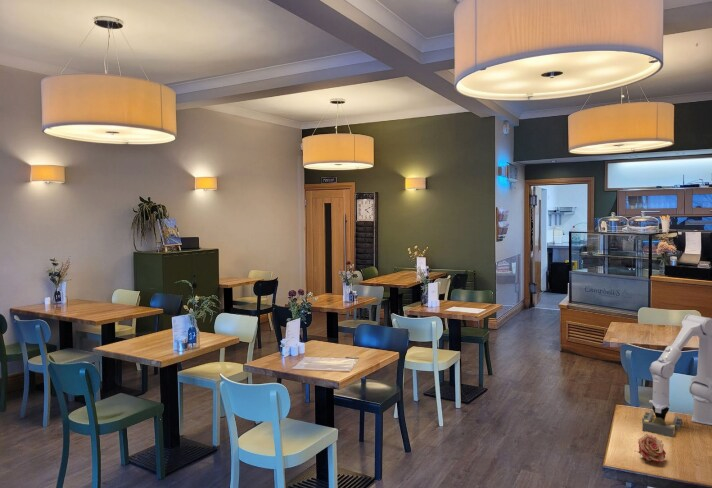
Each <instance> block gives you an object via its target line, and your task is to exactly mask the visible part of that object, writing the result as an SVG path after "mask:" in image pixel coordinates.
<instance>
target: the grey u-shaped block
mask: <svg viewBox="0 0 712 488" xmlns="http://www.w3.org/2000/svg"><path fill="white" fill-rule="evenodd" d="M654 415H655V413H654V411H653V410H650V412H649V411H648V412H647V411H645V414H644V415H643V417H641V419H642V420H641V423H642V428H641V429H642V432H646V433H650V434H651V433H652V434H657V435H661V436H666V437H671V438H674V435H675V430H677V431H680V430H681V427H682V424H683V419H682V418H681V417H679V415H675V416H674V419H673V421H672V424H670V425H667V424H666V425H662V424H657V423H652V421H653V419H654V418H653V417H654Z"/></svg>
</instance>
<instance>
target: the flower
mask: <svg viewBox="0 0 712 488" xmlns="http://www.w3.org/2000/svg"><path fill="white" fill-rule="evenodd" d="M637 443H638V451H637V450H635V452H637V453H639V454H640V456H642V457H643V459H644V460H645V463H647V462H648V461H650V462H652V461H656V462H657V463H658V464H660V463H661V462H664V459H666V454H667V452H666V451H665V449H664V443H663V441H662V440H660V439H658V438H657V437H656V436H653V435H652V434H650V435H649V434H648V433H645V434H644V436H643V435H642V436H641V437H640V438H639V439H638V442H637Z"/></svg>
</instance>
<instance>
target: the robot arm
mask: <svg viewBox="0 0 712 488" xmlns="http://www.w3.org/2000/svg"><path fill="white" fill-rule="evenodd" d="M692 337H698V338H699V339H698V351H697V352H698V353H697V366H696V367H697V370H696V375H695V376H693V377H691V379H690V381H691V382H690V383H689V386H688V390H689V394H690V395H691V397H692V398H693V411H692V412H693V415H692V416H691V422H693V423H698V424H703V425H708V426H712V317H706V316H701V315H695V314H692V313H688V314H686V315H685V316H684V318H683V320H682V321H681V329H680V331H679V333H678V334H677V335H676V337H675V339H674V341H673V343H672V345H667V346H666V347H665V349H664V350H663V352H662V354H661V355H660V356H659V358H657V360H655V361H653V362H651V363H650V366H649V372H650V374H651V379H652V399H649V400H648V403H649V404H652V406H651V407H652V411H654V415H655V418H657V417H660V418H662V419H663V420H664V421H665V422H666V416H667V414H668V412H669V410H670V408H669V407H670V381H671V380H670V378H672V376H673V375H674V371H675V367H676V366H675V365H676V364H677V362H678V360H680V358H681V357H682V349H683V348H684V347H685V346H686V345H687V343H688V342H689V341H690V339H692Z"/></svg>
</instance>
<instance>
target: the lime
mask: <svg viewBox="0 0 712 488" xmlns="http://www.w3.org/2000/svg"><path fill="white" fill-rule="evenodd" d="M651 422H652V423H657V424H662V425H667V423H666V420H665V421H664V420H663V419H662V418H660V417H657V418H656V417H655V418H652V420H651Z"/></svg>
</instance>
